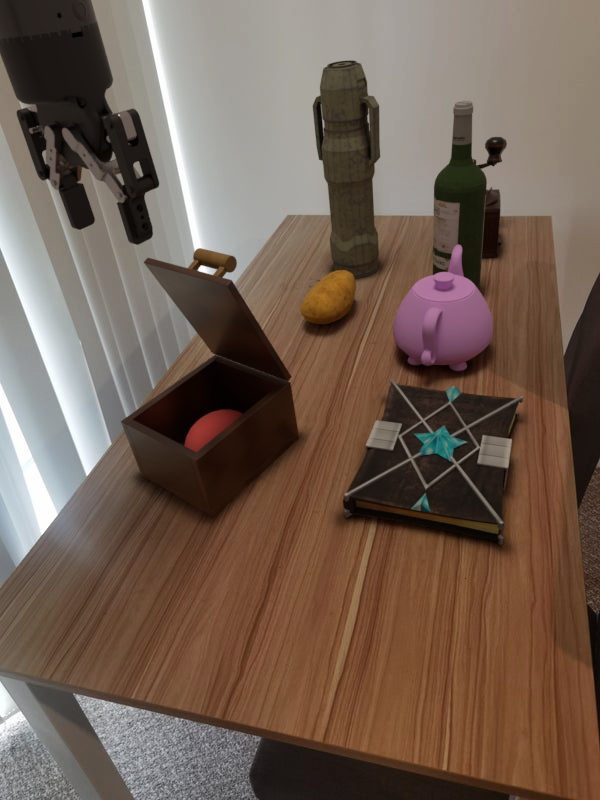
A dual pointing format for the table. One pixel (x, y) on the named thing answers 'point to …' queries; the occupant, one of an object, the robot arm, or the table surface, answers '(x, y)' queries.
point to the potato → (330, 298)
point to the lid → (218, 310)
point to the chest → (227, 452)
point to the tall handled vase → (349, 164)
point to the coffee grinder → (492, 201)
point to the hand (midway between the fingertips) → (112, 233)
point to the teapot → (444, 319)
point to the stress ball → (209, 428)
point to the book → (437, 461)
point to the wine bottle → (460, 202)
